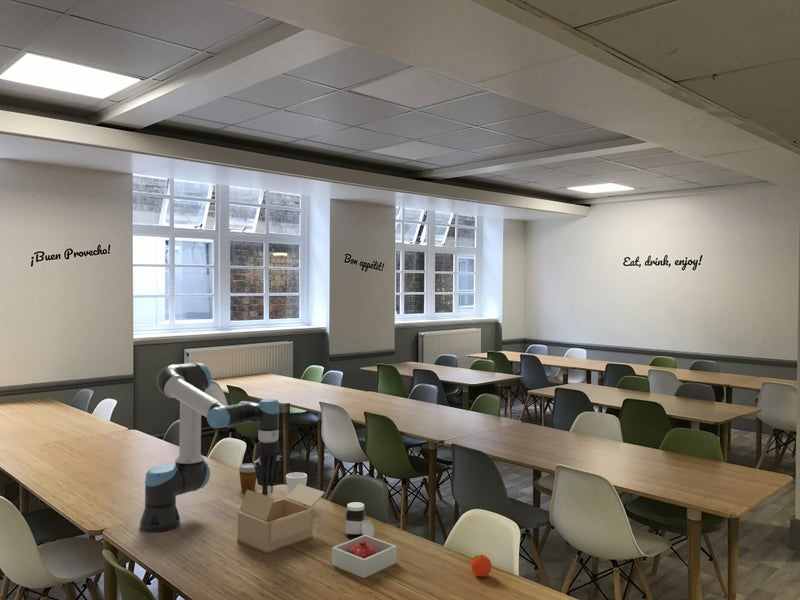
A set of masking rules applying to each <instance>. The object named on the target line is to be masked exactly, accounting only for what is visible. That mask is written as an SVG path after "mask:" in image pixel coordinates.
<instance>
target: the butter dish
mask: <svg viewBox="0 0 800 600" xmlns="http://www.w3.org/2000/svg"><path fill="white" fill-rule="evenodd" d="M349 553H350V554H353V555H356V556H358V557H361V558H363V559H365V558H367V557H370V556H372V555H374V554H377V552H376V550H375V548H374V547H373V546H371V545H370V544H366V541H364V540H362V541H360V542H359V544H358V545H355V546H353V547H351V548H350V550H349Z"/></svg>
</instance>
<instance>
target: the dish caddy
mask: <svg viewBox="0 0 800 600" xmlns="http://www.w3.org/2000/svg"><path fill="white" fill-rule="evenodd" d="M362 540H364V541H366V544H370V545H371V546H373V547H374V548H375V550H376V552H377V554H374V555H372V556H370V557H367V558H365V559H363V558H361V557H358V556H356V555H353V554H350V553H349V550H350V548H351V547H353V546H355V545H358V544H359V542H360V541H362ZM397 551H398V546H397V545H395V544H393V543H389V542H387V541H384V540H381V539H378V538H375V537H370V536H367V535H363V536H360V537H354V538H353V539H351V540H348V541H345V542H342V543H340V544H337V545H335V546H332V548H331V566H333V567H336V568H339V569H341V570H344V571H346V572H348V573H350V574H353V575H355V576H357V577H360V578H361V579H362V578H363V579H365V578H367V577H369V576H372V575H374V574H375V573H378V572H380V571H383V570H385V569H386V568H389V567H390V566H393V565H396V564H397V562H398V560H397V558H398V557H397V556H398V555H397V554H398V553H397Z"/></svg>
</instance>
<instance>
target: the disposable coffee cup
mask: <svg viewBox="0 0 800 600" xmlns="http://www.w3.org/2000/svg"><path fill="white" fill-rule="evenodd" d="M238 471H239V478H240V479H239V480H240V489H241V492H242V493H246V491H247V490H250V491H253V492H255V491H256V484H257V477H256V472H255V467H254V465H253V463H250V462H249V463H242V464H240V465H239V466H238Z"/></svg>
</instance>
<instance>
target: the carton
mask: <svg viewBox="0 0 800 600" xmlns="http://www.w3.org/2000/svg"><path fill="white" fill-rule="evenodd" d="M313 518H314V508H313V507H310V506H307V505H304V504H303V505H300V504H298V503H295V502H292V501H289V499H287V498H281V499H278V500H273V503H272V506H271V509H270V512H269V514H268V517H267V520H266V521H265V520H262V519H260V518H257V517H255V516H252V515H250V514H247V513H244V512H242V511H239V510H238V511H237V537H236V538H237V541H238V542H240V543H241V544H244V545H247V546H248V547H251V548H254V549H255V550H257V551H260V552H262V553H265V554H269V553H273V552H276V551H278V550H281V549H283V548H286V547H289V546H291V545H295V544H297V543H299V542H303V541H305V540H308V539H311V538H313V527H314V525H313V523H314V519H313Z"/></svg>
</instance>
